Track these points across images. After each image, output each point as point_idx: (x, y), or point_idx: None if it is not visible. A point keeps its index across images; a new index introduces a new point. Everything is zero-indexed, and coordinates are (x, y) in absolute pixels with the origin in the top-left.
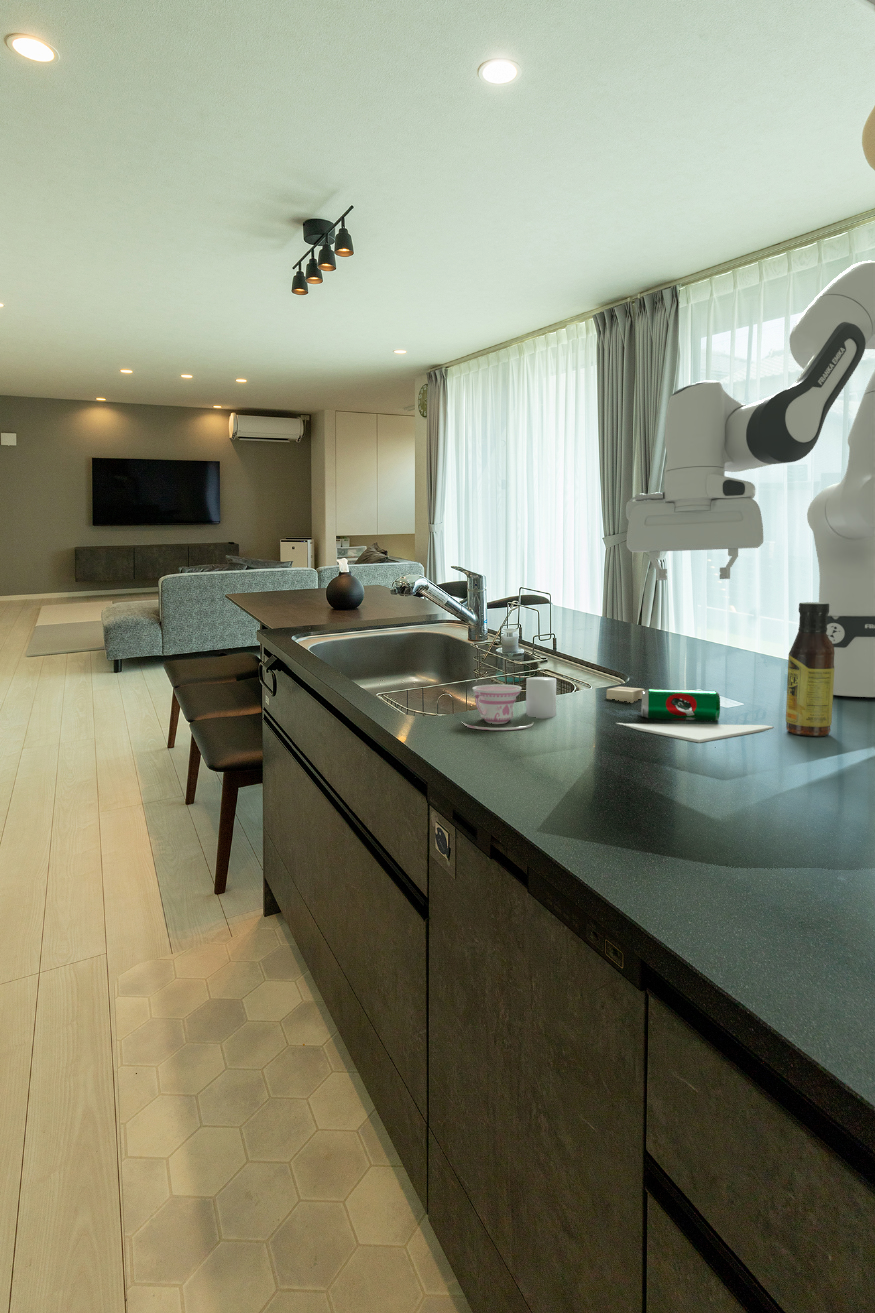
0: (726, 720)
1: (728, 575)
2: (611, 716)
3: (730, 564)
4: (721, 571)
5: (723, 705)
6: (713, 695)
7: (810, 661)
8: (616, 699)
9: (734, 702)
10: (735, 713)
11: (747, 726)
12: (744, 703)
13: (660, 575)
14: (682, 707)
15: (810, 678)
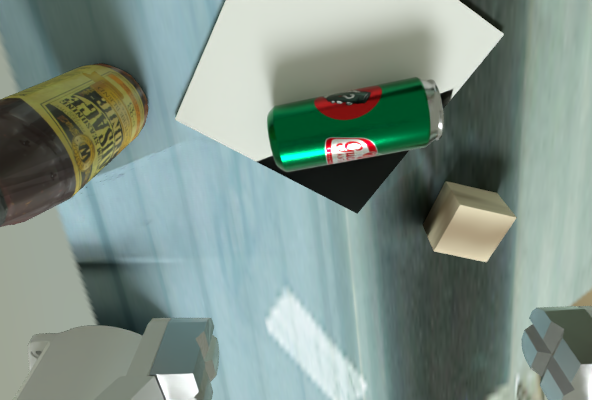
0: (268, 176)
1: (152, 326)
2: (487, 131)
3: (112, 391)
4: (188, 349)
5: (293, 306)
6: (280, 129)
7: (4, 106)
8: (486, 201)
9: (281, 333)
10: (264, 246)
11: (217, 101)
12: (265, 330)
13: (588, 324)
14: (343, 94)
15: (31, 90)
